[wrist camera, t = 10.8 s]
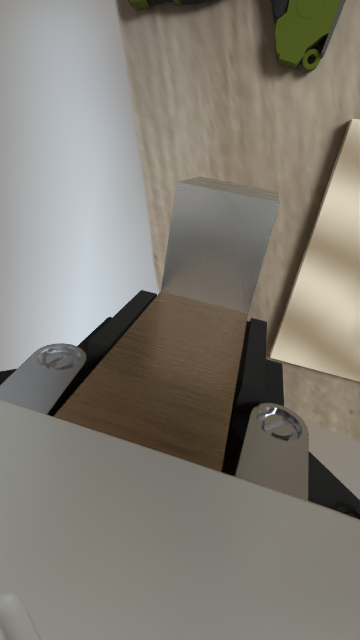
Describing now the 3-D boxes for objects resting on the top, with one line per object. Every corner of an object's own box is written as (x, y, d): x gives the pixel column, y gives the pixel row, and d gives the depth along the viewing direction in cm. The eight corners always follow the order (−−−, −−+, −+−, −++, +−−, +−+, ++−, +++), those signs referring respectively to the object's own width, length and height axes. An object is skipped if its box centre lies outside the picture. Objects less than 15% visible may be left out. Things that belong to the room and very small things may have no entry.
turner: (200, 176, 13) (39, 213, 4) (278, 191, 12) (288, 269, 4) (164, 381, 17) (54, 605, 9) (220, 397, 17) (163, 651, 8)
